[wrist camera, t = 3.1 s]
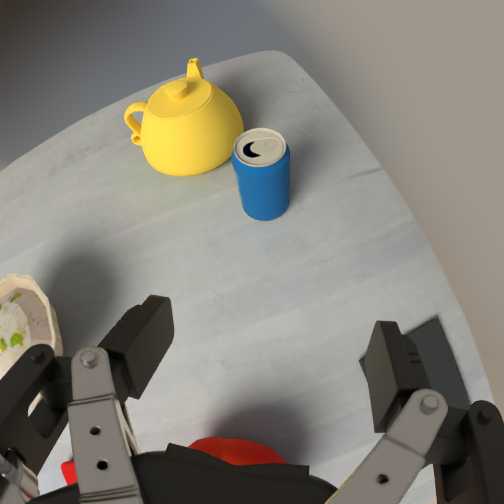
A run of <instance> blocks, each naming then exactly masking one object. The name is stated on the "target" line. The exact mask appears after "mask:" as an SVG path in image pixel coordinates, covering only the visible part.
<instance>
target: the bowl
mask: <svg viewBox="0 0 504 504" xmlns="http://www.w3.org/2000/svg"><path fill="white" fill-rule="evenodd" d="M36 344H48V345H50V346H51V347H52V348H53V350H54V352H55V355H56V356H63V352H64V349H63V345H62V339H61V335H60V330H59V326H58V321H57V316H56V311H55V310H54V308H53V306H52V305H51V303H50V301H49V299H48V298H47V297H46V295H45V294H44V293H43V291H42V290H41V289H40V287H39V286H38V285H37V283H36V282H35V280H34V279H33V278H32V276H28V275H22V274H16V273H10V274H8V275H7V276H6V277H4V278H3V279H1V280H0V380H1V378H2V377H3V376H4V375H5V374H6V372H7V371H8V370H9V369H10V368H11V367H12V366H13V364H14V363H15V362H16V361H17V360H18V359H19V358H20V356H21V355H22V354H23V353H24V352H25V351H26V350H27V349H28V348H30V347H31V346H33V345H36ZM41 399H42V396H41V394H40V393H39V394H38V395H37V396H36V398H35V399H34V401H33V402H32V403H31V405H30V406H29V409H30V408H33V407H35V406H36V405H37V404H38V403H39V402H40V400H41Z"/></svg>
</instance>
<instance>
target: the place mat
mask: <svg viewBox="0 0 504 504" xmlns="http://www.w3.org/2000/svg"><path fill="white" fill-rule="evenodd" d="M408 337H409V338H410V339H411V340H412V341H413V342H414V343H415V345H416V347H417V350H418V352H419V355H420V358H421V360H422V361H421V363H423V366H424V369H425V371H426V374H427V377H428V380H429V383H430V386H431V388H432V390H434V391H437V392H438V393H440V394H441V395H442V396H443V397H444V398H445V399H446V401H447V404H448V406H451V407H455V408H460V409H465V410H468V409H469V408H470V404H469V401H468V398H467V394H466V391H465V388H464V385H463V383H462V380H461V377H460V374H459V371H458V368H457V366H456V363H455V360H454V358H453V355H452V352H451V350H450V347H449V345H448V342H447V340H446V337H445V335H444V333H443V330H442V328H441V326H440V323H439V321H438V319H437V318H435V319H434V320H432V321H430V322H429V323H427V324H425V325H424V326H422V327H420V328H419V329H417V330H415V331H413V332H412V333H410V334H408ZM359 363H360V365H361V367H362V370H363V372H364V375H365V377H366V379H367V374H366V368H365V358H363V359H361V360H359ZM367 382H368V381H367ZM429 464H431V463H424V465H423V467H422V468H421V469H423V468H424V467H426V466H428V465H429Z"/></svg>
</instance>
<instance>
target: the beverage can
mask: <svg viewBox="0 0 504 504" xmlns="http://www.w3.org/2000/svg"><path fill="white" fill-rule="evenodd" d="M231 157H232V163H233V167H234V171H235V176H236V180H237V185H238V189H239V193H240V198H241V202H242V206H243V209H244V211H245V212H246V213H247V214H248V215H249V216H250V217H252V218H254V219H256V220H260V221H270V220H274V219H276V218H278V217H280V216H281V215H282V214H283V213H284V212H285V211H286V209H287V207H288V204H289V183H290V150H289V147H288V145H287V144H286V142H285V140H284V138H283V136H282V135H281V134H279V133H278V132H276V131H274V130H272V129H268V128H255V129H251V130H248V131H246V132H244V133H243V134H241V135H240V136H239V137H238V138H237V139H236V141H235V143H234V148H233V150H232V156H231Z"/></svg>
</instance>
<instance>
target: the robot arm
mask: <svg viewBox="0 0 504 504" xmlns="http://www.w3.org/2000/svg"><path fill="white" fill-rule="evenodd" d="M173 337H174V323H173V315H172V307H171V301H170V298H169V297H163V296H157V295H150V296H149V297H148V298H147V299H146V300H145V301H144V303H143V304H142V305H136V306H134V307H133V308H131V309H129V310H128V311H127V312H126V313H125V314H124V315H123V316H122V318H121V320H119V321H118V322H117V323H116V326H114V327H113V328H112V329H111V330H110V331H109V333H108V334H107V335H106V336H105V337H104V339H103V340H102V341H101V342H100V343H99V344H98V346H97V347H95V346H90V347H85V348H82V349H80V350H79V351H77V352H76V353H75V354H74V355H73V357H64V356H56V355H55V352H54V350H53V348H52V347H51V346H50V345H48V344H36V345H33V346H31V347H30V348H28V349H27V350H26V351H25V352H24V353H23V354H22V355H21V356H20V358H19V359H18V360H17V361H16V362H15V363H14V364H13V366H12V367H11V368H10V369H9V370H8V371H7V372H6V374H5V375H4V376H3V377H2V378H1V380H0V504H399V503H400V501H401V500H402V498H403V497H404V495H405V494H406V492H407V491H408V489H409V488H410V486H411V485H412V483H413V481H414V480H415V478H416V477H417V475H418V473H419V472H420V470H421V468H422V467H423V465H424V463H431V464H433V468H434V477H435V486H436V496H437V504H504V422H503V420H502V417H501V414H500V412H499V410H498V409H497V407H496V406H495V405H493V404H492V403H490V402H488V401H484V400H480V401H476V402H474V403H473V404H472V405H471V406H470V408H469V409H468V410H465V409H460V408H455V407H451V406H448V404H447V401H446V399H445V398H444V397H443V396H442V395H441V394H440V393H438V392H437V391H434V390H432V388H431V386H430V383H429V380H428V377H427V374H426V371H425V369H424V366H423V363H421V361H422V360H421V358H420V355H419V352H418V350H417V347H416V345H415V343H414V342H413V341H412V340H411V339H410V338H409V337H408V335H401V333H400V330H399V327H398V324H397V322H395V321H377V322H376V323H375V326H374V329H373V333H372V336H371V339H370V342H369V345H368V348H367V352H366V357H365V368H366V374H367V381H368V387H369V393H370V400H371V407H372V415H373V423H374V431H375V433H385V434H384V435H383V436H382V437H381V439H380V440H379V441H378V443H377V444H376V445H375V447H374V448H373V449H372V450H371V452H370V453H369V454H368V455H367V457H366V458H365V459H364V460H363V462H362V463H361V464H360V465H359V466H358V467H357V469H356V470H355V471H354V472H353V473H352V474H351V476H350V477H349V478H348V479H347V480H346V481H345V482H344V483H343V484H342V486H341V487H340V488H339V489H337V488H336V487H335V486H333V485H332V484H330V483H329V482H327V481H325V480H323V479H321V478H318V477H316V476H312V475H309V466H306V465H292V464H281V463H266V464H253V465H233V464H231V463H228V462H226V461H223V460H221V459H219V458H216V457H214V456H212V455H210V454H208V453H205V452H203V451H200V450H196V449H192V448H188V447H184V446H180V445H176V444H172V443H169V444H168V446H167V449H166V451H152V452H145V453H141V451H140V449H139V447H138V444H137V441H136V438H135V435H134V431H133V428H132V425H131V421H130V418H129V414H128V410H127V407H126V404H125V401H126V400H127V398H128V396H129V397H132V398H135V399H138V400H139V399H140V397H141V395H142V393H143V392H144V390H145V388H146V386H147V385H148V383H149V381H150V379H151V378H152V376H153V374H154V372H155V371H156V369H157V367H158V366H159V364H160V362H161V360H162V359H163V357H164V355H165V354H166V352H167V350H168V348H169V347H170V345H171V343H172V341H173ZM39 393H40V394H41V396H42V399H41V400H40V402H39V403H38V404H37V406H36V407H35V409H34V410H33V412H32V413H31V414H30V416H29V417H28V409H29V406H30V405H31V403H32V402H33V401H34V399H35V398H36V396H37V395H38V394H39ZM68 422H69V428H70V436H71V444H72V451H73V458H74V464H75V470H76V475H77V480H78V481H77V482H75V483H72V484H70V485H67V486H65V487H62V488H60V489H57V490H54V491H52V492H49V493H46V494H43V495H41V496H40V492H39V490H38V479H37V475H38V474H39V472H40V470H41V468H42V466H43V465H44V463H45V461H46V459H47V457H48V456H49V454H50V452H51V450H52V449H53V447H54V445H55V444H56V442H57V440H58V438H59V437H60V435H61V433H62V432H63V430H64V428H65V427H66V425H67V423H68Z"/></svg>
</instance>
